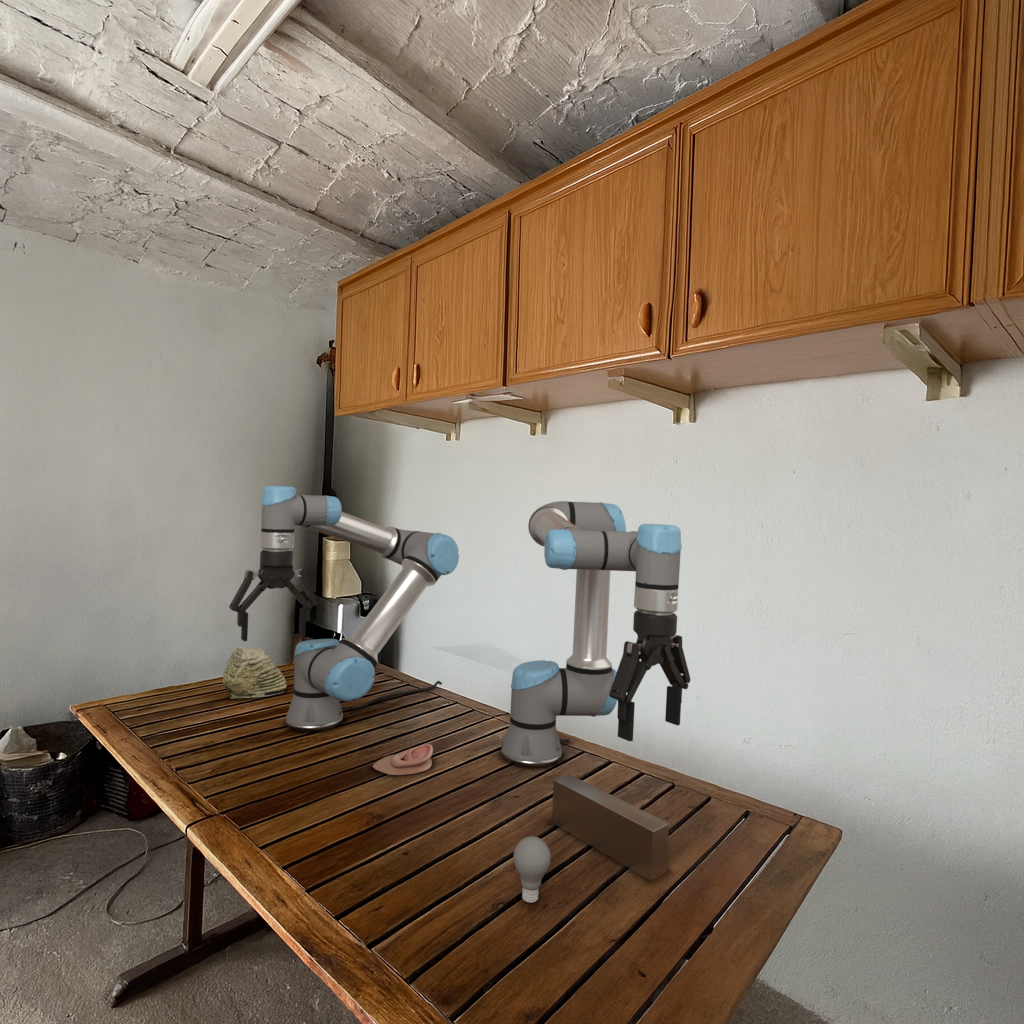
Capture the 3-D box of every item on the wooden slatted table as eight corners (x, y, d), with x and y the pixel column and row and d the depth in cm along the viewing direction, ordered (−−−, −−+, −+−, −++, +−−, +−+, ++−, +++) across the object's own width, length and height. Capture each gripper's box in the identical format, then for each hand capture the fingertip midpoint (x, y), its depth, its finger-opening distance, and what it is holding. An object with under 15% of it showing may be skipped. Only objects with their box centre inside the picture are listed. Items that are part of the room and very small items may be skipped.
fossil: (218, 695, 195) (220, 647, 195) (278, 685, 208) (279, 640, 207) (228, 703, 189) (230, 653, 188) (289, 692, 201) (290, 645, 201)
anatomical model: (367, 754, 146) (387, 737, 157) (366, 771, 146) (386, 752, 158) (422, 762, 144) (438, 743, 155) (421, 779, 144) (437, 759, 155)
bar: (551, 822, 127) (553, 779, 127) (567, 816, 130) (569, 774, 130) (650, 881, 109) (653, 831, 109) (666, 872, 112) (669, 823, 112)
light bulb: (510, 888, 105) (512, 829, 104) (546, 888, 105) (548, 829, 105) (513, 912, 99) (515, 849, 98) (551, 912, 99) (554, 849, 99)
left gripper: (225, 551, 142) (221, 645, 143) (333, 550, 157) (329, 635, 158) (217, 548, 148) (214, 639, 149) (322, 547, 163) (319, 629, 164)
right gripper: (627, 621, 101) (620, 753, 101) (713, 609, 117) (707, 723, 118) (592, 613, 107) (586, 738, 107) (678, 603, 123) (673, 711, 123)
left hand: (273, 637), depth 153 cm, fingers open, 13 cm apart
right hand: (649, 730), depth 112 cm, fingers open, 13 cm apart
